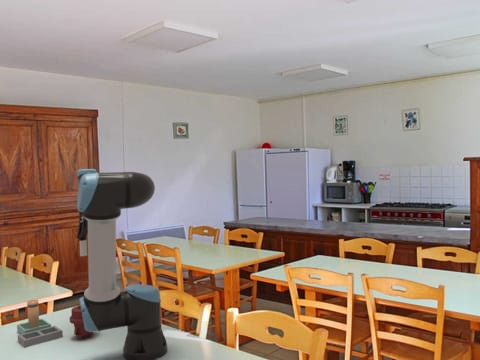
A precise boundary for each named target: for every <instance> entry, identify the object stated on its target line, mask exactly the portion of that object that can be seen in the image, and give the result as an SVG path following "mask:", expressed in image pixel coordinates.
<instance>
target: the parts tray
mask: <svg viewBox="0 0 480 360" xmlns="http://www.w3.org/2000/svg"><path fill="white" fill-rule="evenodd" d="M39 325H40V327H36V328H32V329H29V324H28V321H27V322H24V323H23V322H22V323H19V324H16V329H17V330H16V331H17V333H18V335H21V334H24V333H28V332H32V331H36V330H40V329H44V328H48V327H52V324H51V323H50V322H48V321H47V320H46V319H44V318H39Z"/></svg>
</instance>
